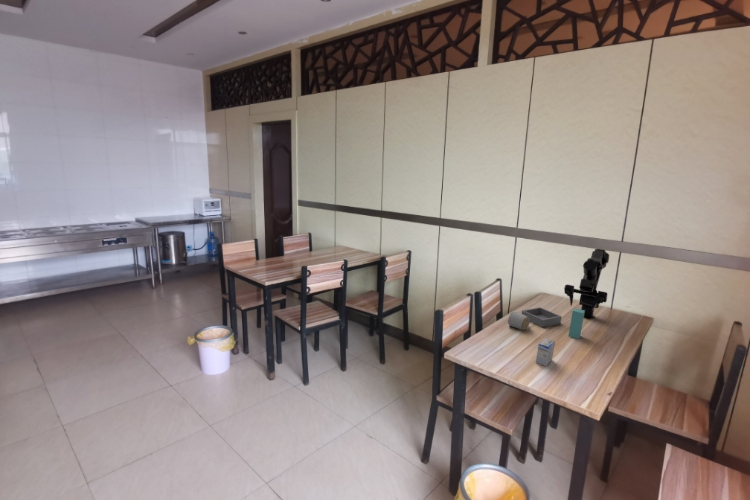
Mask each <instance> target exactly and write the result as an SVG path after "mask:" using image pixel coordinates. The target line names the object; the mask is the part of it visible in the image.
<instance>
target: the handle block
mask: <svg viewBox="0 0 750 500" xmlns="http://www.w3.org/2000/svg"><path fill="white" fill-rule="evenodd" d="M584 313H585V311H584V310H581V309H579V308H576V307H575V308H574V309H572V313H571V318H570V319H571V320H570V325H569V331H568V337H570V338H573V339H577V340H579V339H580V337H581V335H582V330H583V322H584V318H585V317H584Z"/></svg>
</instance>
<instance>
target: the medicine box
mask: <svg viewBox="0 0 750 500" xmlns="http://www.w3.org/2000/svg"><path fill="white" fill-rule="evenodd" d="M555 345H556V341H555V340H552V339H549V338H546V337H544V338H543V339H542V340H541V341H540V342H539V343H538V346H537V351H536V357H535V364H538V365H541V366H544V367H547V366H548V365H549V364H550V362H551V361H552V360H553V357H554V351H555Z"/></svg>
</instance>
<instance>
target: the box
mask: <svg viewBox="0 0 750 500" xmlns="http://www.w3.org/2000/svg"><path fill="white" fill-rule="evenodd" d="M521 314H523V315H525V316H527V317H528V318H529V320H530V322H529V323H532V324H534V325H535V326H538V327H541V328H547V327H551V326H554V325H555V326H556V325H560V324H561V322H562V317H563V316H562V315H560V314H557V313H555V312H553V311H550V310H547V309H545V308H543V307H540V306H539V307H533V308H529V309H522V310H521Z"/></svg>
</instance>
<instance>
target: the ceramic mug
mask: <svg viewBox="0 0 750 500" xmlns="http://www.w3.org/2000/svg"><path fill="white" fill-rule="evenodd" d="M530 323H531V322H530V320H529V318H528V317H527V316H525V315H523V314H522V313H520V312H518V311H515V310H513V311H512V312H510V313H509V316H508V319H507V324H508V326H510V327H513V328H515V329H518V330H521V331H525V330H527V329H528V327H529V325H530Z"/></svg>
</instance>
